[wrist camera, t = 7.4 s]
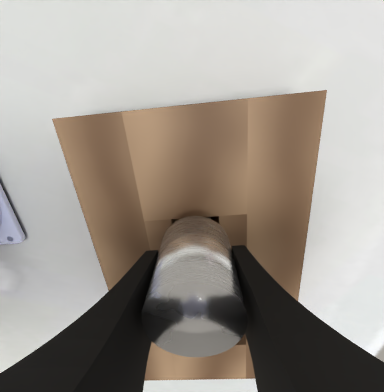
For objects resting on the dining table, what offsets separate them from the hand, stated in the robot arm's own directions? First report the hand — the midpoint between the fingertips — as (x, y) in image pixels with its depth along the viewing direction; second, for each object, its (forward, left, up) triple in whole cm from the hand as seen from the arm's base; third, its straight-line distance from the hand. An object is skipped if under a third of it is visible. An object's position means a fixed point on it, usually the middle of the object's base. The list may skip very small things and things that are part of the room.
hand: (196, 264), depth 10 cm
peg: (0, 0, -5) cm, 5 cm away
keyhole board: (0, -4, -6) cm, 7 cm away
